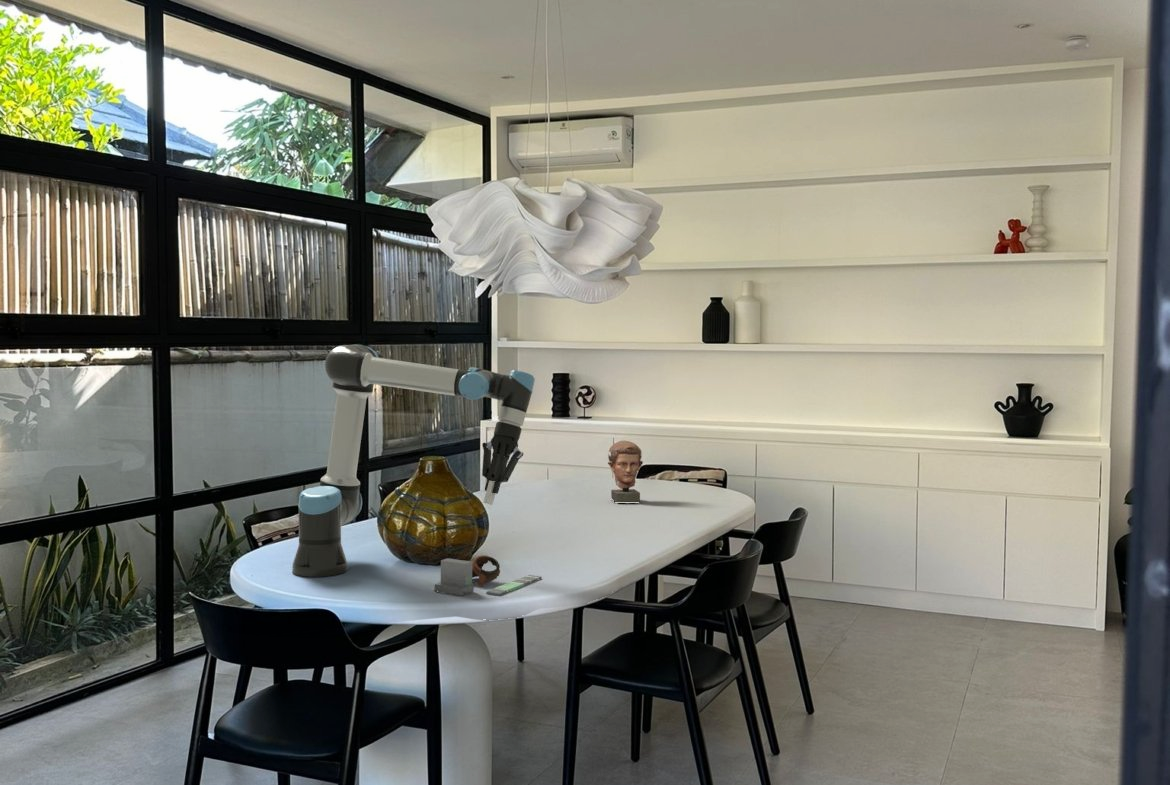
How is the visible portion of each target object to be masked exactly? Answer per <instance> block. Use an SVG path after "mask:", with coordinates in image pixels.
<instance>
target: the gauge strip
mask: <svg viewBox="0 0 1170 785" xmlns="http://www.w3.org/2000/svg"><path fill="white" fill-rule="evenodd" d="M542 578H543V577H542V576H541V575H535V574H528V575H525V576H522V577H520V578H517V579H514V580H513V581H509V582H507V583H504V584H501V585H499V586H496V587H494V588H492V589H490V590H487V591H485V592H486V595H490V594H491V596H497V597H498V596H499V597H500V596H502V595H505V594H508V593H510V592H513V591H514V590H517V588H518V589H520V588H522V587H525V586H528V585H529V584H532V583H535V582H537V581H539V579H540V580H541V579H542ZM542 580H543V579H542ZM512 590H513V591H512ZM509 591H510V592H509ZM507 592H508V593H507Z"/></svg>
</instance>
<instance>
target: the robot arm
mask: <svg viewBox="0 0 1170 785" xmlns="http://www.w3.org/2000/svg"><path fill="white" fill-rule="evenodd" d="M324 367H325V368H324V369H325V373H326V375H327V376H328V378H329V379H330V380H331V381H332V389H333V390H334V392H335V394H336V399H335V400H336V401H335V408H334V416H333V423H332V428H331V429H332V430H331V439H330V445H329V451H328V452H329V453H328V460H327V468H326V469H327V470H326V473H325V474H324V475H323V476H321V478H320V481H319V486H314V487H308V488H306V489H304V490H302V491H301V492H300V494H299V497H298V504H297V507H298V546H297V550H296V552H295V555H294V559H293V562H292V567H291V568H292V569H291V570H292V574H294V575H297V576H300V577H309V578H313V577H314V578H317V577H331V576H336V575H341V574H343V573H346V572H347V570H348V560H347V558H346V557H347V556H346V554H345V552H344V548H343V546H342V526H344V525H348V524H350V523H351V522H352V521H354V519H356V517H357V516H358V515H359V514H360V512H361V510H362V506H363V497H362V493H360V488H361V481H360V480H359V479H358V478H357V473H358V472H357V471H358V464H359V458H360V451H361V450H360V449H361V442H362V441H361V440H362V435H363V427H364V419H365V411H366V405H367V399H368V397H369V396H371V395H372V394H373V392H374V385H378V386H383V387H384V386H385V387H392V388H399V389H405V390H413V391H417V392H426V393H433V394H440V395H447V396H453V397H460V398H465V399H467V400H470V401H477V400H480V399H482V398H490V399H494V400H498V401H501V406H500V409H499V413H498V416H497V420H498V421H497V422H495V427H494V431H493V435H492V437H491V439H490V441H488V442H483V443H482V445H481V446H482V450H483V456H482V469H481V471H482V472H481V475H482V476H483V477H484V478H485V479H486V483H485V486H484V492H485V495H484V499H483V502H482V503H484V504H487V505H491V506H492V505H493V504H494V500H495V496H496V495H498V493H499V491H500V488H501V484H502V483H508V481H509V479H510V478H511V476H512V473H513V472H514V469H516V468H515V467H516V466H517V464H518V462H519V460H520V459H521V458H522V457H523V456H524V452H523V451H521V450H520V449H519V448H518V447H519V441H520V437H521V433H522V427H523V425H524V422H525V418H526V415H527V411H528V408H529V405H530V402H531V398H532V394H533V389H534V384H535V380H536V379H535V377H534V375H532V374H530V373H528V372H525V371H522V370H516V369H512V370H510V373H509V374H507V375H506V374H501V373H498V372H495V371H490V370H486V369H484V368H480V367H479V368H478V367H473V366H471V367H469V369H468V370H466V369H459V368H458V369H457V368H452V367H443V366H437V365H432V364H424V363H416V362H410V361H403V360H396V359H390V358H383V357H379V355H378V354H377V353H376V351H375V350H374V349H372V348H371V347H369V346H367V345H364V344H357V343H356V344H343V345H342V344H341V345H338V346H336V347H335V348H333V349H331V351H330V352H329V353H328V354H327V356H326V358H325V362H324ZM492 450H493V451H492Z"/></svg>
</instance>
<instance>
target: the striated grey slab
mask: <svg viewBox="0 0 1170 785" xmlns="http://www.w3.org/2000/svg"><path fill="white" fill-rule="evenodd" d="M474 587H475V585H474V584H473V578H472V561H470V560H466V561H463V559H462V560H461V559H456V558H455V559H454V558H448V557H447V558H444V559H441V560H440V582H436V583H434V592H435V591H438V592H437V593H440V592H444V593H443V594H447V593H450V594H449V595H453V594H455V595H454V596H459V595H460V597H464V596H467V595H470V594H471V593H472V594H473V593H474Z"/></svg>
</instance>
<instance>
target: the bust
mask: <svg viewBox="0 0 1170 785" xmlns="http://www.w3.org/2000/svg"><path fill="white" fill-rule="evenodd" d="M607 456H608V457H607V458H608V462H607V464H608V466H609V467H610V470H611V472H612V473H613V475H614V482H615V485H616V486H617V487H618V488H619V489H611V491H610V492H611V498H612V499H613V500H614V501H615V502H640V503H641V493H640V491H638V490H636V489H635V488H633V487H635V484H636V477H637V474H638V471H639V470H640V468H641V467H642V465H643V464H644V462H643V460H641V459H642V458H643V457H642V456H643V454H642V450H641V448H640V447H639V446H638V445H637V444H636V443H634V442H633V441H629V440H619V441H617V442H615V443H614V444H612V445H611V446H610V448H609V450H608V455H607ZM615 502H614V503H615Z"/></svg>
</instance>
